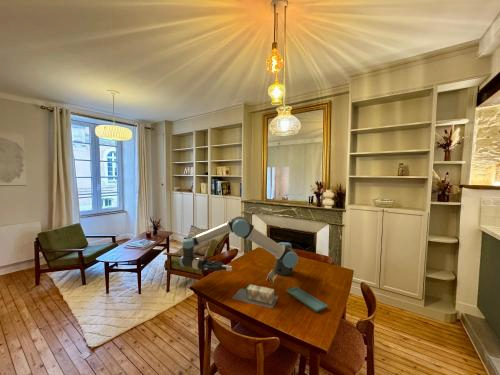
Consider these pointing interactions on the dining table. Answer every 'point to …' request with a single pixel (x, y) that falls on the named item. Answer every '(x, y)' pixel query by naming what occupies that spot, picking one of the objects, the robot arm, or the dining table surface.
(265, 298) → the birch block
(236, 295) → the rubber mat
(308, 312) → the dining table surface
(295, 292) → the shallow long dish
